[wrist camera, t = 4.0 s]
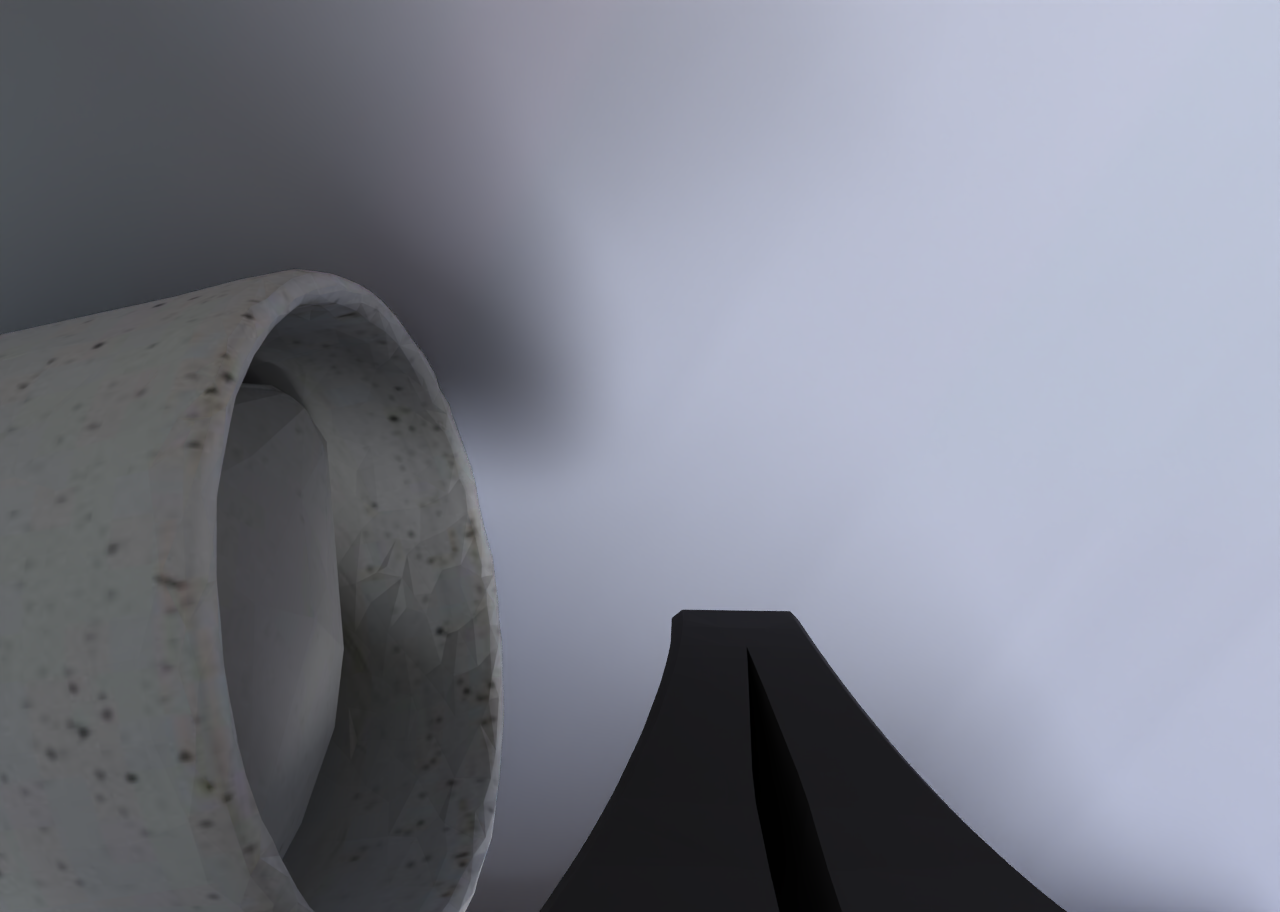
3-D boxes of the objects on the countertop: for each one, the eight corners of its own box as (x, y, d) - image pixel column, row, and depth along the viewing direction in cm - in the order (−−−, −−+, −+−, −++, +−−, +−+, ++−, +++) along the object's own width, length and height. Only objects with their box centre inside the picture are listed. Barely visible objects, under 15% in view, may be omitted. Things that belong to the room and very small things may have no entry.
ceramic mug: (-183, 324, 14) (-1025, 707, 7) (384, 188, 13) (89, 467, 6) (157, 855, 18) (-132, 1400, 11) (586, 782, 17) (554, 1320, 11)
